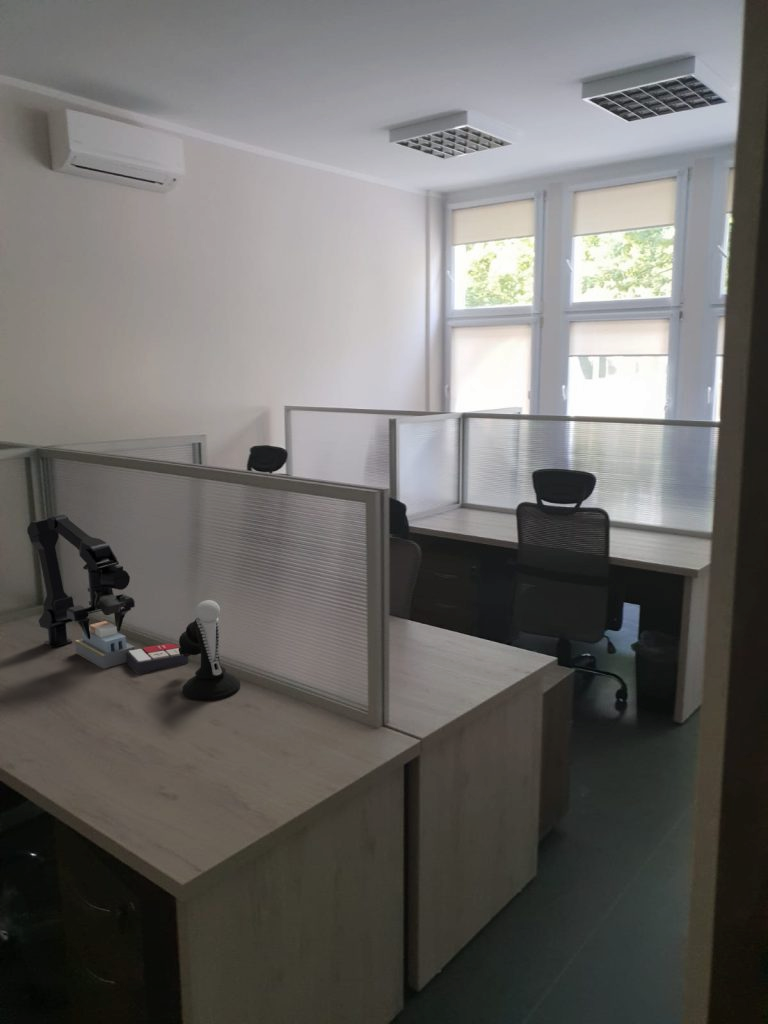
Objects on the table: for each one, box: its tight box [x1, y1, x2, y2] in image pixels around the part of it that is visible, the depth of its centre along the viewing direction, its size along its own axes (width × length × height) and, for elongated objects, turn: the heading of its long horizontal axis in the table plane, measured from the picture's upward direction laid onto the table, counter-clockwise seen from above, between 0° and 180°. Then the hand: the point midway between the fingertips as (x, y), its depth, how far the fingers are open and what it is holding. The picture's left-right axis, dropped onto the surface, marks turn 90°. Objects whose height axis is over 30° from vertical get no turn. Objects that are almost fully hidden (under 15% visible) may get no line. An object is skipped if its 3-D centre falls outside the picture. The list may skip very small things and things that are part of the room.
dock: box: [74, 638, 136, 670], centre depth 235 cm, size 18×10×4 cm, turn 45°
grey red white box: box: [126, 643, 189, 675], centre depth 230 cm, size 11×4×15 cm
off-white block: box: [95, 623, 118, 638], centre depth 232 cm, size 4×5×2 cm
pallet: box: [81, 626, 127, 653], centre depth 234 cm, size 16×6×4 cm, turn 45°
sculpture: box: [178, 599, 241, 702], centre depth 211 cm, size 15×24×25 cm, turn 38°
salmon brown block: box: [89, 620, 112, 634], centre depth 235 cm, size 4×5×2 cm
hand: (103, 635), depth 234 cm, fingers open, 9 cm apart
